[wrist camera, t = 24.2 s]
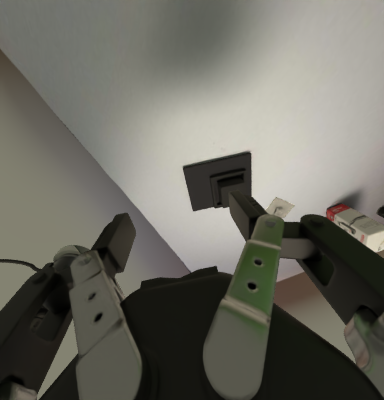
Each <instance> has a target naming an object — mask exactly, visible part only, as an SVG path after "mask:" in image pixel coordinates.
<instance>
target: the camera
mask: <svg viewBox="0 0 384 400" xmlns="http://www.w3.org/2000/svg"><path fill="white" fill-rule="evenodd" d="M377 215H379V216H381V217H383V218H384V206H383V207H381V208H380V209H379V210H378V211H377Z"/></svg>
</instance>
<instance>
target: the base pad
mask: <svg viewBox="0 0 384 400" xmlns="http://www.w3.org/2000/svg"><path fill="white" fill-rule="evenodd" d="M183 171H184V175H185V179H186V184H187V188H188V192H189V196H190V201H191V205H192V209H193V211H197V210H202V209H206V208H211V207H214V208H220V207H222V205H221V203H220V201H219V195H218V187H217V181H220V180H224V179H229V178H233V177H238V176H239V177H240V178H241V179H242V180H243V181H244V182H245V192H246V195H249V196H251V153H246V154H241V155H237V156H232V157H228V158H223V159H219V160H215V161H210V162H206V163H201V164H197V165H192V166H188V167H183Z"/></svg>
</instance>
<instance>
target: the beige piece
mask: <svg viewBox="0 0 384 400" xmlns="http://www.w3.org/2000/svg"><path fill="white" fill-rule="evenodd" d="M294 206H295V205H293V204H291V203H288V202H286V201H284V200H282V199H280V198H277V197H276V198H275V199H274V200H273V201H272V203H271V204H270V205H269V207H268V208H267V209H266V210H265V211H266V212H267V213H268V214H272V215H276V216H279V217H281V218H284V217H285V216H286V215H287V214H288V213H289V212H290V210H291V209H292V208H293V207H294Z"/></svg>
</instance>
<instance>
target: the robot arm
mask: <svg viewBox="0 0 384 400" xmlns="http://www.w3.org/2000/svg"><path fill="white" fill-rule="evenodd" d="M229 208H230V214H231V216H232V218H233V220H234V222H235V223H236V225H237V227H238V229H239V230H240V232H241V234H242V236H243V237H244V239H245V241H246V244H245V246H244V249H243V251H242V254H241V257H240V259H239V262H238V264H237V267H236V270H235V272H234V275H232V274H228V273H224V272H218V270H217V266H214V267H209V268H204V269H199V270H196V271H194V272H192V273H190V274H188V275H185V276H183V277H181V278H161V277H160V278H155V279H150V280H145V281H142V282H141V287H140V289H138V290H136V291H135V292H133V293H131V294H130V295H129V296H128V297H126V298H125V296H124V294H123V292H122V290H121V288H120V286H119V284H118V282H117V280H116V279H115V274H116V273H121V272H123V271H124V268H125V265H126V262H127V259H128V256H129V253H130V251H131V248H132V245H133V242H134V239H135V236H136V230H135V228H134V225H133V223H132V221H131V219H130V217H129V215H128V213H123V214H118V215H116V216H115V217H114V219H113V221H112V222H110V223H109V224H108V225H107V226H106V227H105V228H104V230H103V232H102V233H101V234H100V236H99V238H98V239H97V241H96V242H95V244H94V245H93V247H92V248H91V250H89V251H86V252H84V253H82V254H81V255H78V254H72V253H69V254H64V255H61V256H60V257H59V258H58V259H57V260H55V261H54V262H53V263H47V264H46V265H45V266H44V267H43V268H42V269H39V268H37V267H35V266H34V265H33V264H30V263H27V262H24V261H18V260H9V259H0V262H6V263H16V264H22V265H26V266H29V267H31V268H32V269H33V270H34V271H37V273H35V274H34V275H32V276H31V277H30V278H29V279H28V280H27V281H26V282H25V284H23V285H22V287H21V288H20V289H19V290H18V291H17V292H16V294H15V295H14V296H13V297H12V298H11V300H10V301H9V302H8V303H7V304H6V305H5V307H4V308H3V309H2V310H1V311H0V400H37V394H38V392H39V389H40V387H41V385H42V383H43V381H44V379H45V377H46V374H47V372H48V370H49V368H50V366H51V364H52V362H53V359H54V357H55V355H56V353H57V351H58V349H59V347H60V344H61V342H62V340H63V338H64V336H65V334H66V332H67V329H68V327H69V325H70V323H71V321H72V319H73V321H74V327H75V333H76V340H77V347H78V354H77V355H76V356H75V358H74V359H73V360H72V361H71V362H70V363H69V365H68V366H67V367H66V368H65V369H64V371H63V372H62V373H61V374H60V375H59V377H58V378H57V379H56V380H55V381H54V383H53V384H52V385H51V386H50V387H49V388H48V389H47V391H46V392H45V393H44V394H43V395H42V397H41V398H40V399H39V400H384V258H382V257H381V256H379V255H378V254H377V253H375V252H374V251H373V250H371V249H370V248H368V247H367V246H366V245H364V244H363V243H361V242H360V241H359V240H357V239H356V238H354V237H353V236H352V235H350V234H349V233H348V232H346V231H345V230H343V229H342V228H341V227H339V226H338V225H336V224H335V223H334V222H332V221H331V220H329V219H328V218H326V217H323V216H320V215H314V214H309V215H304V216H302V217H301V220H300V222H284V220H283V219H282V218H281V217H279V216H276V215H272V214H268V213H267V212H266V211H265V209H264V208H263V207H262V206H261V205H259V203H258V202H256V200H255V199H254V198H253V197H251V196H249V195H243V194H242V193H241V192H240V191H239V190H236V191H231V192H229ZM280 258H287V259H296V261H297V262H298V263H299V265H300V266H301V267H302V268H303V270H304V271H305V272H306V274H307V275H308V276H309V278H310V279H311V280H312V282H313V283H314V284H315V285H316V287H317V288H318V289H319V290H320V292H321V293H322V295H323V296H324V297H325V299H326V300H327V301H328V302H329V304H330V305H331V306H332V308H333V309H334V310H335V312H336V313H337V314H338V316H339V317H340V318H341V319H342V321H343V322H344V323H345V325H346V327H345V329H344V336H345V340H346V342H347V344H348V346H349V347H350V349H351V351H352V353H353V355H354V357H355V361H356V364H355V363H354V362H353V361H352V360H351V359H350V358H349V357H347V356H346V355H345V354H344V353H342V352H341V351H340V350H338V349H337V348H336V347H334V346H333V345H331V344H330V343H329V342H327V341H326V340H325V339H323V338H322V337H320V336H319V335H318V334H316V333H315V332H313V331H312V330H311V329H309V328H308V327H307V326H305V325H304V324H302V323H301V322H299V321H298V320H297V319H296V318H294V317H293V316H291V315H290V314H289V313H287V312H286V311H284V310H283V309H282V308H280V307H279V306H277V305H276V304H275V303H273V299H274V293H275V286H276V280H277V273H278V266H279V259H280Z"/></svg>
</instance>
